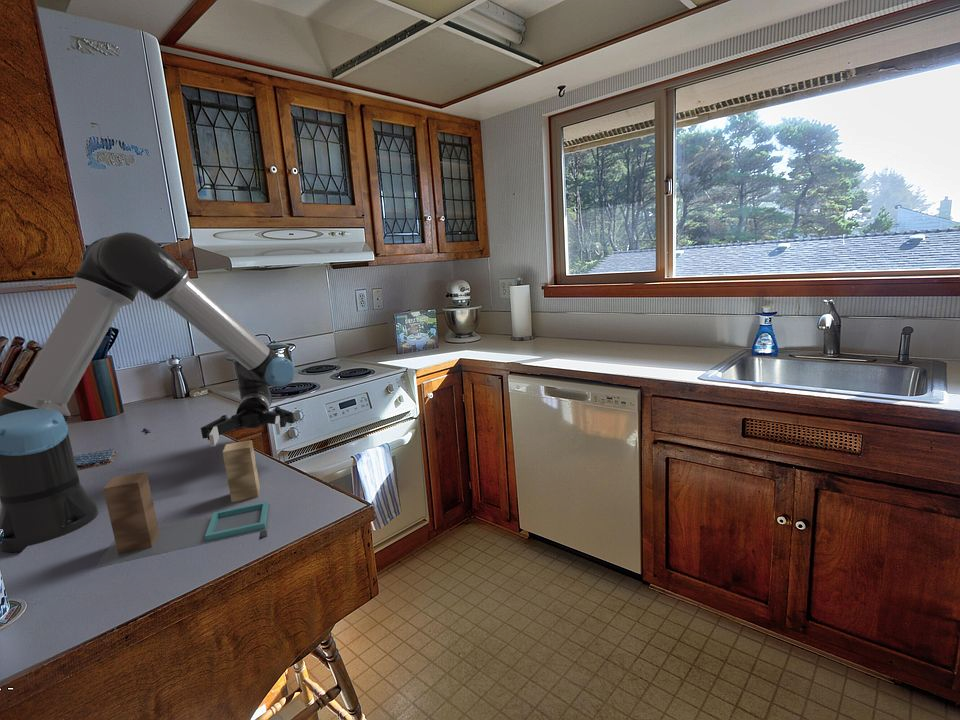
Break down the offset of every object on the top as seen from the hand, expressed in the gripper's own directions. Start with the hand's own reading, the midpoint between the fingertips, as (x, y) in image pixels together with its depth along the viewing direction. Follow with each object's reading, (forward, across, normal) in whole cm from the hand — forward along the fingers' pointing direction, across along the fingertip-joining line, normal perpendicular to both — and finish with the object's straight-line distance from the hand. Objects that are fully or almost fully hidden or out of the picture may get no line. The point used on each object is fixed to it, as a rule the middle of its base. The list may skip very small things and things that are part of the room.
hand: (245, 434), depth 113 cm
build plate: (+23, +9, -11) cm, 27 cm away
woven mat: (-38, +44, -12) cm, 59 cm away
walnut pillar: (+23, +17, -10) cm, 30 cm away
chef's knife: (-57, +35, -12) cm, 68 cm away
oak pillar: (+10, +1, -11) cm, 15 cm away
